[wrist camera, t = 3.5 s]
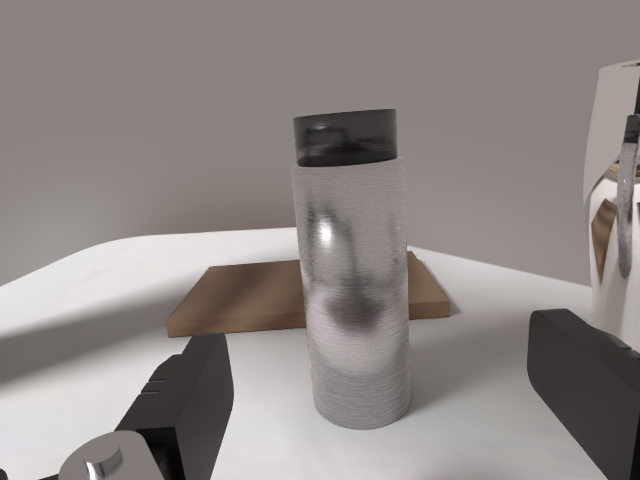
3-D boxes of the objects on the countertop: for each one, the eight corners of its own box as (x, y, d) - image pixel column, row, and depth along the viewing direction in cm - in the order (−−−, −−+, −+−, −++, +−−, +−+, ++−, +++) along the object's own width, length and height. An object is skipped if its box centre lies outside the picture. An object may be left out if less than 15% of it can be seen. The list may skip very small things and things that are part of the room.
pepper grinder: (313, 433, 19) (280, 117, 15) (314, 371, 24) (290, 120, 20) (421, 425, 19) (415, 105, 15) (400, 364, 24) (391, 111, 20)
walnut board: (168, 337, 29) (165, 322, 29) (211, 278, 41) (209, 266, 40) (449, 316, 29) (449, 300, 28) (411, 262, 40) (411, 251, 40)
